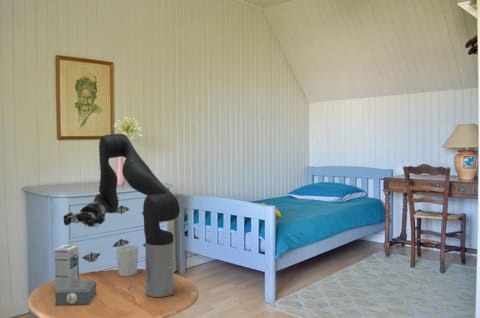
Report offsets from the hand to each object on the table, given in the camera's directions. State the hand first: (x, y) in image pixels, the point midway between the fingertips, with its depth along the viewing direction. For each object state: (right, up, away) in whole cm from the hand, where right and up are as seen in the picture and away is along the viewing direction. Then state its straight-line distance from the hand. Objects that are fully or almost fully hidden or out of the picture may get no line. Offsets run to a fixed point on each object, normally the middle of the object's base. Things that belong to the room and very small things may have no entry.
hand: (77, 223), depth 159 cm
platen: (+6, -18, -18) cm, 26 cm away
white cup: (+16, -21, +8) cm, 27 cm away
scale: (+6, -22, -18) cm, 29 cm away
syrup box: (-1, -21, -8) cm, 23 cm away
